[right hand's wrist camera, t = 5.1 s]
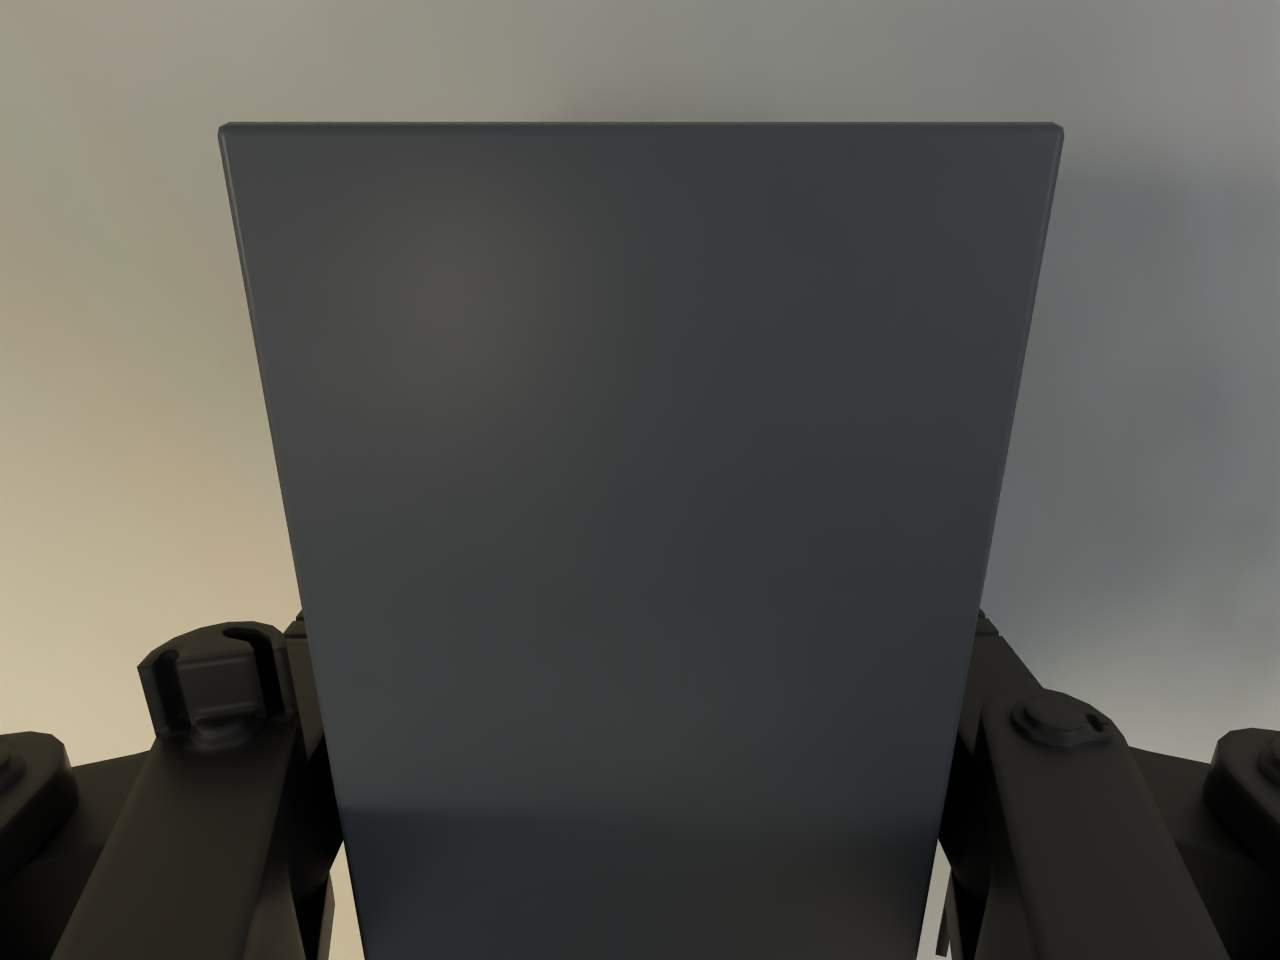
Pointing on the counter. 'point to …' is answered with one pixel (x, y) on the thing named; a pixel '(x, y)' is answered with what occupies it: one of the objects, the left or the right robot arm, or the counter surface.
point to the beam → (640, 511)
